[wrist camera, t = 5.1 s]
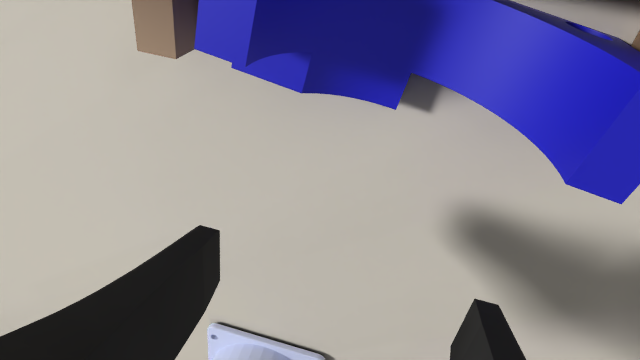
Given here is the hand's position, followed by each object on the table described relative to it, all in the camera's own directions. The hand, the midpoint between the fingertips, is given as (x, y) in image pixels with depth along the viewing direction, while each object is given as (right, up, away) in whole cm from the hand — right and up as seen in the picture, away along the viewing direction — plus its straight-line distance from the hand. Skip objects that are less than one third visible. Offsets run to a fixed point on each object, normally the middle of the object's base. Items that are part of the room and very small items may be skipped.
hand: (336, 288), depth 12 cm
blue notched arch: (+3, +8, +4) cm, 10 cm away
